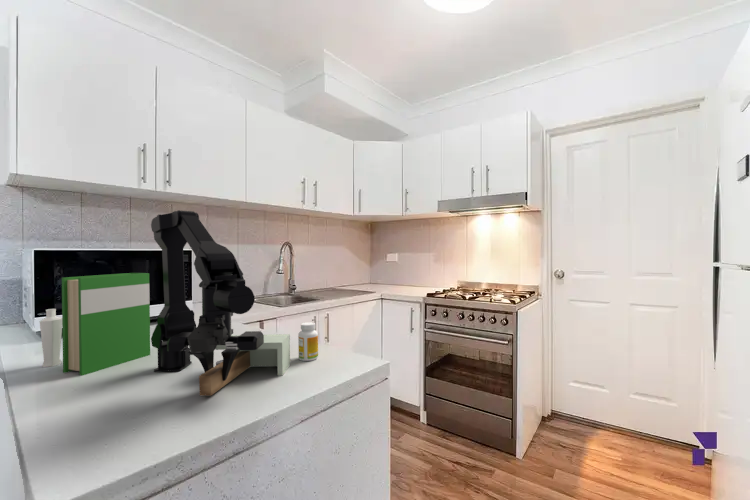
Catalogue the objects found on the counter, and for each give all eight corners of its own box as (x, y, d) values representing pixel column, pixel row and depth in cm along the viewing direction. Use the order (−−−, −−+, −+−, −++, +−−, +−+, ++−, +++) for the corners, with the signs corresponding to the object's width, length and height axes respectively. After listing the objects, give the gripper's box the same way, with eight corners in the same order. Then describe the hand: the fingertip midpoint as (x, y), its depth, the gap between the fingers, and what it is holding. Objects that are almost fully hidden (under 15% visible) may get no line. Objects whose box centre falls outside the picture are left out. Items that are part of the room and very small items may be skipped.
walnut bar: (199, 395, 71) (199, 375, 71) (240, 366, 89) (240, 350, 89) (211, 395, 71) (210, 375, 71) (250, 366, 89) (249, 350, 89)
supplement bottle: (320, 355, 99) (320, 321, 99) (315, 361, 94) (314, 325, 94) (302, 355, 100) (301, 321, 100) (295, 361, 94) (295, 325, 94)
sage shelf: (215, 376, 83) (215, 343, 83) (229, 365, 91) (228, 335, 91) (282, 375, 84) (282, 342, 84) (290, 364, 92) (289, 334, 92)
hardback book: (81, 375, 85) (80, 278, 85) (63, 372, 88) (61, 277, 88) (150, 354, 102) (149, 273, 102) (132, 352, 104) (131, 272, 104)
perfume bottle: (35, 366, 92) (34, 310, 92) (55, 361, 96) (55, 307, 96) (45, 368, 91) (44, 311, 91) (65, 363, 95) (64, 308, 95)
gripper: (150, 316, 67) (151, 396, 67) (247, 315, 68) (248, 395, 68) (181, 307, 78) (181, 375, 78) (264, 306, 79) (264, 374, 79)
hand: (217, 380), depth 76 cm, fingers closed on walnut bar, 3 cm apart
